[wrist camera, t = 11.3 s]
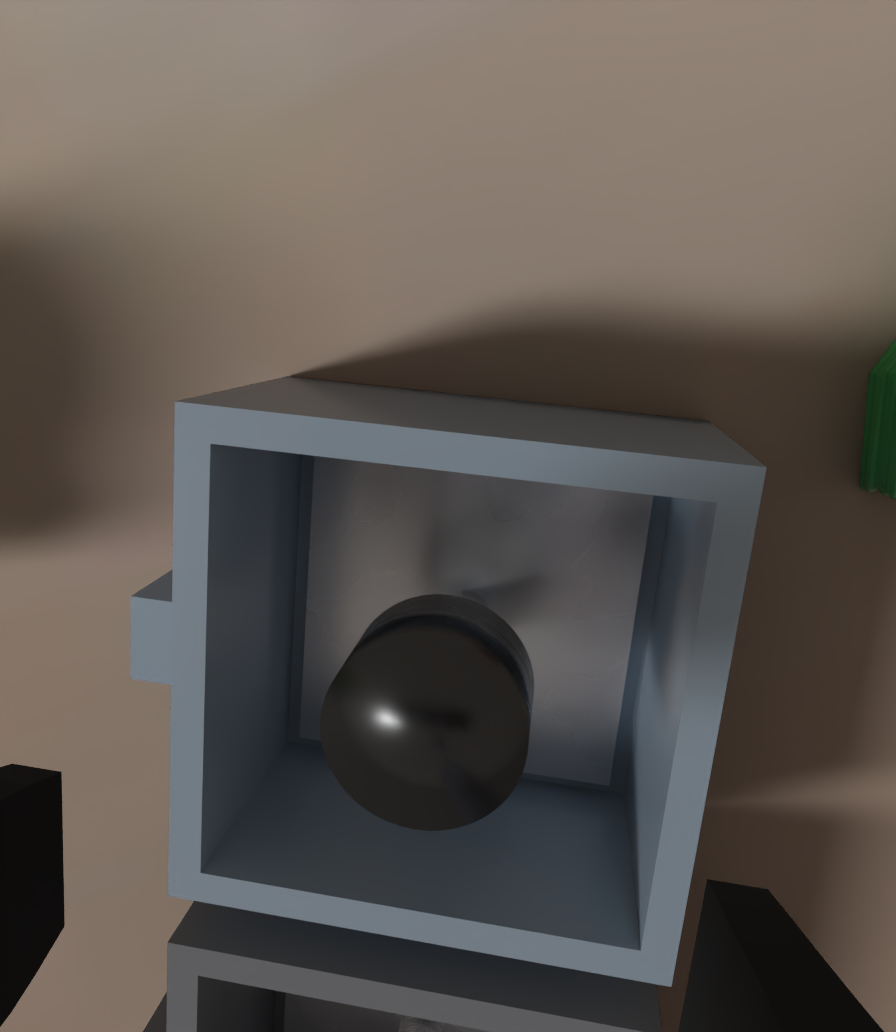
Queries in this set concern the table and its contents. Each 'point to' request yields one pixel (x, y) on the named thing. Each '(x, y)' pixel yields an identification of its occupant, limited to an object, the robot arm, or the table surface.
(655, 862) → the slate-blue press
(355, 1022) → the charcoal press plunger
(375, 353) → the table surface
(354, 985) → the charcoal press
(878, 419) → the pattern blocks set
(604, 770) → the slate-blue press plunger
